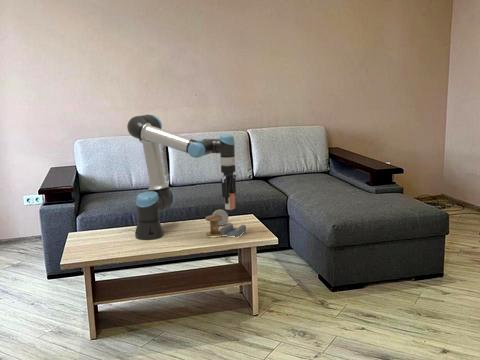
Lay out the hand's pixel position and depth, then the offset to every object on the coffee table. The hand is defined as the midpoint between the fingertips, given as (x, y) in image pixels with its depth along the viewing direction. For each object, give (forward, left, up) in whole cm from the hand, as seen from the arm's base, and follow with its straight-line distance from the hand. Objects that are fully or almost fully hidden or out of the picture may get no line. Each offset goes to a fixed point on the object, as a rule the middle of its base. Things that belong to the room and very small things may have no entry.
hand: (229, 208), depth 266 cm
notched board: (0, +3, -15) cm, 16 cm away
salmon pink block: (0, 0, 0) cm, 0 cm away
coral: (-15, +18, -16) cm, 28 cm away
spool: (-9, -2, -15) cm, 18 cm away
